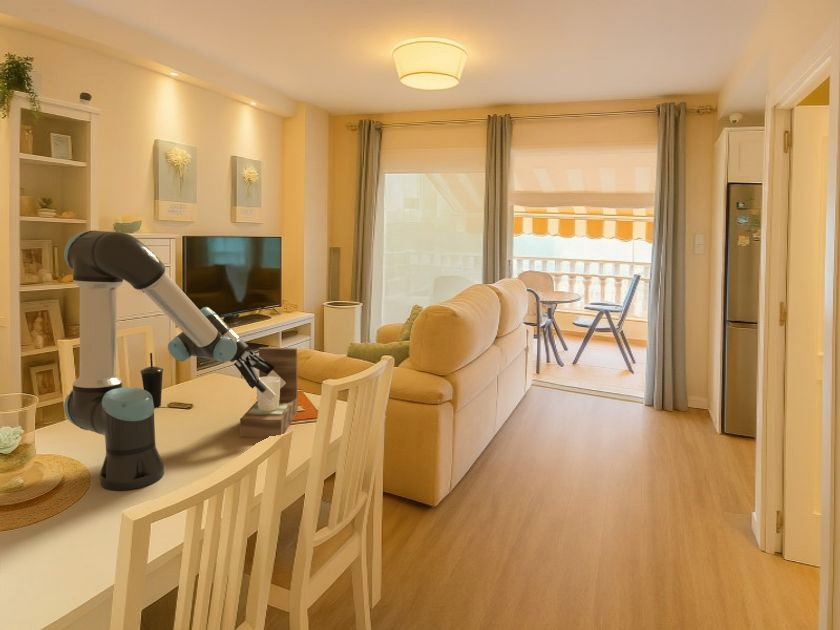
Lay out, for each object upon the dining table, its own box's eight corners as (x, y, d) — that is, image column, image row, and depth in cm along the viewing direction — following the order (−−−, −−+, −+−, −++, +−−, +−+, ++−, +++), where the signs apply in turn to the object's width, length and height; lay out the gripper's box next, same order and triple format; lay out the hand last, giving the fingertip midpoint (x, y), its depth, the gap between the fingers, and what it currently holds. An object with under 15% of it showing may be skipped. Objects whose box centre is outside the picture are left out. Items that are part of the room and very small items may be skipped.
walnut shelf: (281, 438, 177) (280, 365, 174) (240, 437, 177) (238, 363, 174) (297, 413, 201) (296, 348, 197) (261, 412, 201) (260, 347, 197)
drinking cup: (169, 405, 206) (166, 352, 203) (150, 410, 200) (147, 356, 197) (157, 401, 210) (154, 349, 207) (137, 406, 204) (134, 353, 201)
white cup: (274, 412, 182) (273, 383, 180) (252, 410, 183) (251, 381, 182) (284, 405, 189) (284, 377, 188) (263, 403, 191) (262, 375, 189)
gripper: (236, 346, 196) (279, 388, 198) (210, 363, 171) (259, 411, 174) (251, 331, 195) (294, 374, 197) (226, 346, 170) (276, 395, 173)
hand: (278, 391), depth 185 cm, fingers open, 13 cm apart
